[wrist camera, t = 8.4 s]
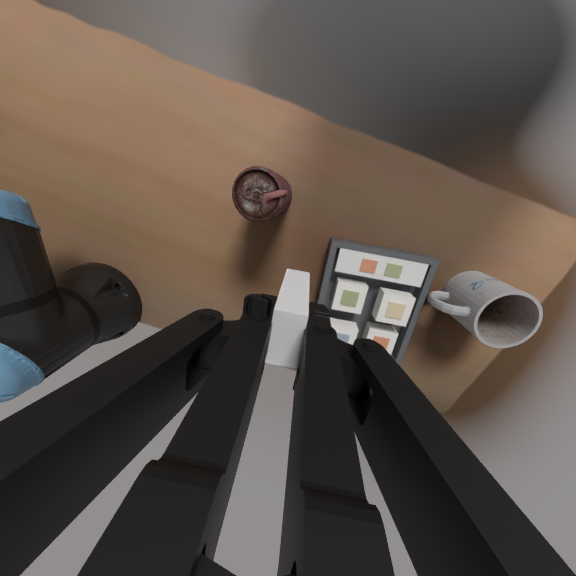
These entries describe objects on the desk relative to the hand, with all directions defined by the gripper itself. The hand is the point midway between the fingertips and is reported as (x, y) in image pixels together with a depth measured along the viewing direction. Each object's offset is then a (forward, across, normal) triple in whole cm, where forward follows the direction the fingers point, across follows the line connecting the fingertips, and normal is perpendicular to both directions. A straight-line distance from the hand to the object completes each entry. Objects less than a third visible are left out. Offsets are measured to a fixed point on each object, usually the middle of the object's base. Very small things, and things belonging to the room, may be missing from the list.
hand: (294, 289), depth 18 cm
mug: (+29, +28, -5) cm, 40 cm away
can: (+29, -6, +5) cm, 30 cm away
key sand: (+26, +17, -9) cm, 32 cm away
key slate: (+26, +9, -16) cm, 32 cm away
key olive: (+28, +9, -9) cm, 31 cm away
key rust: (+28, +17, -16) cm, 36 cm away
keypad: (+28, +13, -10) cm, 33 cm away
